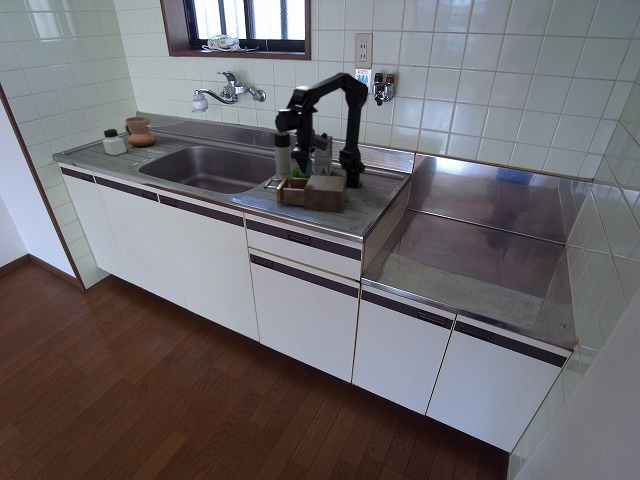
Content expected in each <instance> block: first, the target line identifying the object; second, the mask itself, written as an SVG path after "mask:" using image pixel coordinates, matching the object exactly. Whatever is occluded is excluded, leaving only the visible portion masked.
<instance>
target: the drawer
mask: <svg viewBox="0 0 640 480" xmlns="http://www.w3.org/2000/svg"><path fill="white" fill-rule="evenodd" d="M308 181H309V179H304V178H293V177H292V178H291V181H289V180H288V176H285V177H284V179H283V180H277V179H276V178H275V179H274V178H269V180H267V182H266V183H265V184H264V186H263V190H267V189H270V190H272V189H273V190H276V192H275V193H276V203H277V206H281V205H282V204H283V203H284V204H285V205H296V206H297V205H298V206H304V188H305V186H306V184H307V183H308ZM272 182H276V183H279V185H278V186H271V184H272ZM289 182H290V183H289Z"/></svg>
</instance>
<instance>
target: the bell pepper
mask: <svg viewBox="0 0 640 480" xmlns="http://www.w3.org/2000/svg"><path fill="white" fill-rule="evenodd" d="M312 175H314V171H313V170H312ZM310 177H311V175H310V176H301V175H300V174H299V165H298V163H297V162H295V166H293V168H292V178H304V179H310Z"/></svg>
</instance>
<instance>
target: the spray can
mask: <svg viewBox="0 0 640 480" xmlns="http://www.w3.org/2000/svg"><path fill="white" fill-rule="evenodd" d="M273 142H274V144H273V145H274V157H275V158H274V159H275V172H276V175H275V176H276V180H283V179H284V177H285V176H288V180H289V182H291V178H293V177H292V172H293V167H292V165H293V164H292V159H291V152H292V146H291V133H290V131H287V132H279V131H276V132H275V133H274V132H273Z"/></svg>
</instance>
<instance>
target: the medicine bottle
mask: <svg viewBox="0 0 640 480" xmlns="http://www.w3.org/2000/svg"><path fill="white" fill-rule="evenodd" d="M103 135H104V139H102V140H101V141H102V143H103V147H104V150H105V153H106V154H107V155H110V156H119V155H121V154H125V153H127V149H126V145H125V142H124V138H121V137H119V133H118V130H117V129H115V128H108V129H104V130H103Z"/></svg>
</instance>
